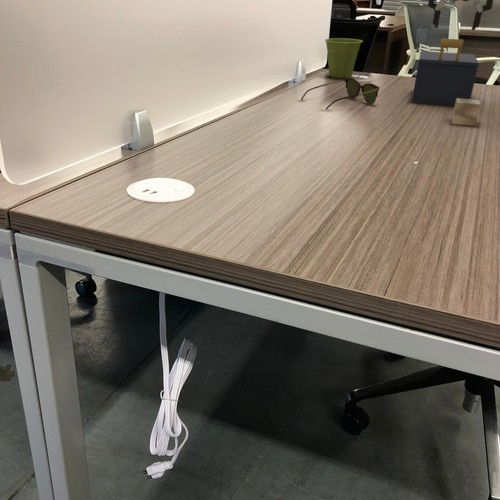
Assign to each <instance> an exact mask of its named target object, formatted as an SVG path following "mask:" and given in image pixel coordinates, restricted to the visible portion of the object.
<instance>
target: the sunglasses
mask: <svg viewBox="0 0 500 500" xmlns="http://www.w3.org/2000/svg"><path fill="white" fill-rule="evenodd" d="M340 82H345V89H346V92H347V96H344V97H340V98H338V99H335V100H333V101H332V102H330V104H329V105H327V106H326V107H325V110H328V109H329V108H330V107H331V106H332V105H334V104H335V103H336V102H339V101H342V100H347V99H349V98H350V99H356V98H357V97H359V96H362V97H363V98H364V101H365V102H366V104H369V105H374V104H375V103H376V100H377V98H378V95H379V91H380V87H379V86H378V85H376V84H374V83H364V84H363V85H361V84H360V82H359V81H358V80H356V79H355V78H352V77H351V78H341V79H339V80H335V81H331V82H328V83H324V84H321V85H318V86H313V87H311V88H309V89H307V90H306V91H305V93H304V94H303V95H302V96H301V98H300V100H301V101H303V100H304V97H305V96H306V95H307V94H308V92H311V91H312V90H316V89H318V88H321V87H325V86H329V85H332V84H336V83H340ZM360 92H361V93H360Z"/></svg>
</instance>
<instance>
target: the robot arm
mask: <svg viewBox="0 0 500 500" xmlns="http://www.w3.org/2000/svg"><path fill="white" fill-rule="evenodd" d="M448 1H449V0H440V1H439V2H438V3H436V2H435V0H428V3H427V7H428V8H430V9H433V10H434V13H433V18H432V25H433V26H434V29H438V28H439V23H440V19H441V12H442V11H441V10H442V8H443V7H444V6H445V5H446V4H447V3H448ZM452 1H456V2H458V1H459V0H452ZM462 1H463V2H468V1H470V0H462ZM471 2H472V4H473V6H474V8H475V13H474V16H473V20H472V25H471V31H476V28H479V26H480V23H481V19H482V15H483V13H484V12H487V11H490V10H492V8H493V3H494V0H486V3H485V5H482V4H481V1H480V0H471Z"/></svg>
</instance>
